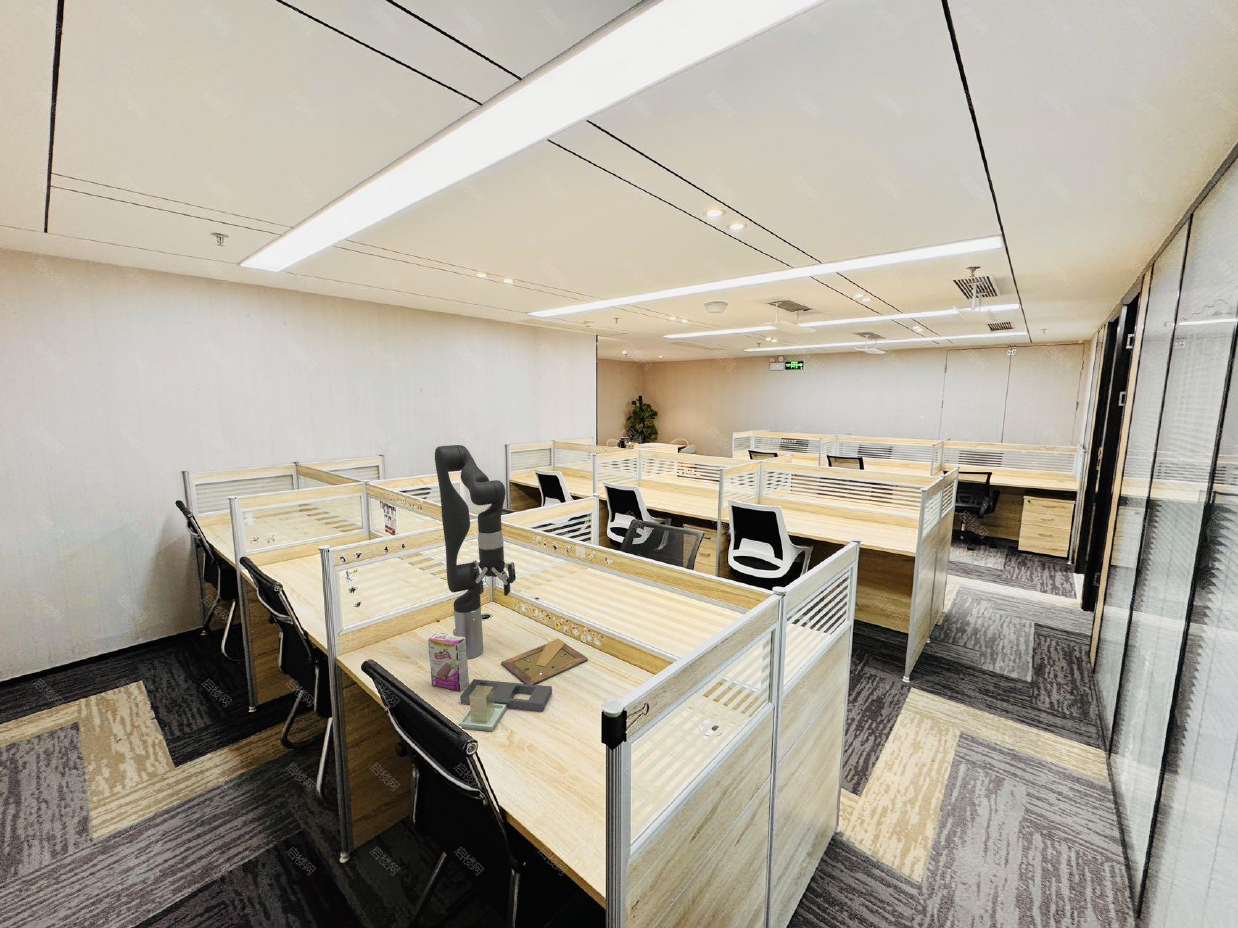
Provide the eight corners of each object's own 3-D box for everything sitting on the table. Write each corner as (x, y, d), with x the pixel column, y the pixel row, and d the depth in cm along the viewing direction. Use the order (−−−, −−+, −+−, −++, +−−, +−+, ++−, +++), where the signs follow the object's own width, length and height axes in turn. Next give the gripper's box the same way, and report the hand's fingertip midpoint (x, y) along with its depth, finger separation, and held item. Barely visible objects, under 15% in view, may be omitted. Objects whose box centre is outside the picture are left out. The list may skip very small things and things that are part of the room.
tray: (459, 728, 142) (458, 723, 142) (475, 706, 152) (474, 701, 152) (492, 731, 141) (492, 726, 140) (506, 709, 150) (506, 704, 150)
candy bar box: (430, 686, 163) (426, 638, 160) (441, 677, 167) (437, 631, 165) (460, 692, 159) (456, 643, 157) (469, 683, 164) (466, 636, 161)
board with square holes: (460, 703, 153) (460, 695, 153) (474, 686, 162) (473, 679, 162) (542, 711, 149) (542, 703, 148) (552, 693, 158) (551, 686, 157)
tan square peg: (471, 721, 144) (469, 695, 143) (479, 710, 149) (477, 685, 148) (487, 722, 143) (485, 697, 142) (495, 711, 148) (493, 686, 147)
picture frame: (558, 642, 190) (501, 665, 175) (558, 638, 190) (500, 661, 175) (588, 662, 176) (529, 689, 161) (588, 657, 176) (528, 684, 161)
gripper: (463, 547, 155) (467, 597, 157) (507, 549, 152) (510, 600, 155) (475, 540, 162) (478, 588, 165) (517, 541, 160) (519, 590, 162)
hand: (493, 594), depth 160 cm, fingers open, 8 cm apart
